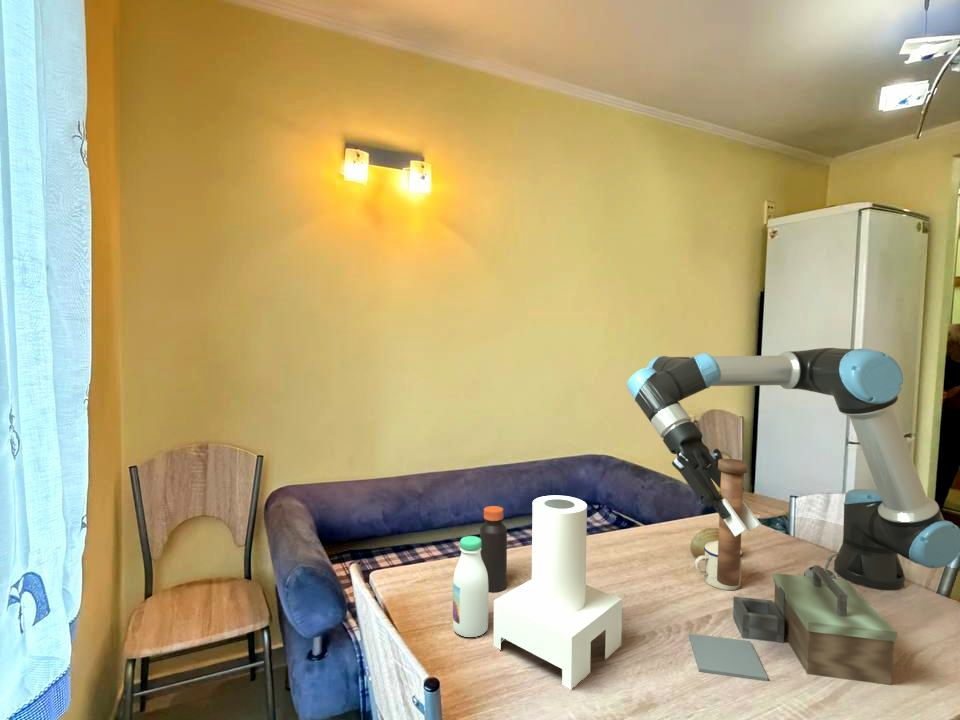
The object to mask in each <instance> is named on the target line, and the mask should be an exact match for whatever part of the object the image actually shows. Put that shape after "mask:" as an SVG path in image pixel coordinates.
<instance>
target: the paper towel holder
mask: <svg viewBox="0 0 960 720" xmlns="http://www.w3.org/2000/svg"><path fill="white" fill-rule="evenodd" d="M587 513H588V504H587V503H586V502H585V501H583V500H582V499H579V498H576V497H572V496H570V495H569V496H568V495H556V494H555V495H546V496H544V495H543V496H540V497H537V498H535V499H534V500H533V501H532V527H531V528H532V531H531V534H532V536H531V537H532V538H531V541H532V542H531V543H532V544H531V546H532V547H531V579H530V580H528V581H526V582H524V583H522V584H521V585H519V586H517V587H515V588H514V589H512V590H510V591H508V592H507V593H504V594H503V595H502V596H500V597H497V598H496V599H494V600H493V647H494V646H495V647H497V648H499V649H500V650H501V651H502V649H501V648H502V647H501V646H502V645H501V644H502V642H501V641H502V640H503V639H506V640H505V641H507V642H510V643H512V644H514V645H515V646H517V647H520V648H521V649H523V650H524V651H527V652H529V653H530V654H533V655H534V656H536V657H538V658H540V659H542V660H544V661H546V662H548V663H550V664H552V665H554V666H555V667H558V669H559V668H560V669H561V674H562V675H561V686H562V685H564V686H566V687H568V688H569V689H568V688H567V689H568V690H570V689H571V690H570V691H572V690H573V689H574V688H576V687H577V686H578V685H577V684H578V683H579V682H580V681H581V680H582V681H583V680H584V679H585V678H587V677H588V676H589V675H590V674H591V655H592V654H591V653H592V652H591V651H592V650H591V648H592V647H591V644H592V641H593V640H594V639H596V638H597V637H599V636H600V635H601V634H602V633H603V632H604V631H605V642H604V643H605V647H604V648H605V651H604V660H607V659H608V658H610V656H611V655H612V654H613V653H615V651H617V650H618V649H619V648H620V647H621V646H622V621H623V619H622V618H623V616H622V615H623V598H622V597H620V596H617V595H614V594H611V593H609V592H606V591H603V590H601V589H598V588H595V587H593V586H590V585H588V584H587V583H586V582H587V581H586V580H587V578H586V577H587V527H588V525H587V523H588V522H587V520H588V517H587V515H588V514H587ZM589 673H590V674H589ZM588 674H589V675H588ZM587 675H588V676H587ZM582 681H581V682H582ZM581 682H580V683H581ZM580 683H579V684H580ZM564 686H563V687H564ZM566 687H565V688H566ZM573 687H574V688H573ZM572 688H573V689H572Z"/></svg>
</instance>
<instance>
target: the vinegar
mask: <svg viewBox="0 0 960 720" xmlns="http://www.w3.org/2000/svg"><path fill="white" fill-rule="evenodd" d="M483 520H484V523H483V524H482V525H481V527H480V529H479V538H480V539H481V551H480V554H481V558H482V560H483V563H484V565H485V567H486V570H487V574H488V591H491V592H490V593H498V592H497V591H499V592H502V591H503V590H505V589H506V587H507V569H508V568H507V566H508V563H507V561H508V557H507V556H508V529H507V526H505V524H504V523H503V520H504V508H503V507H500V506H498V505H497V506H496V505H491V506H486V507H484V508H483ZM501 590H502V591H501Z"/></svg>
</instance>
